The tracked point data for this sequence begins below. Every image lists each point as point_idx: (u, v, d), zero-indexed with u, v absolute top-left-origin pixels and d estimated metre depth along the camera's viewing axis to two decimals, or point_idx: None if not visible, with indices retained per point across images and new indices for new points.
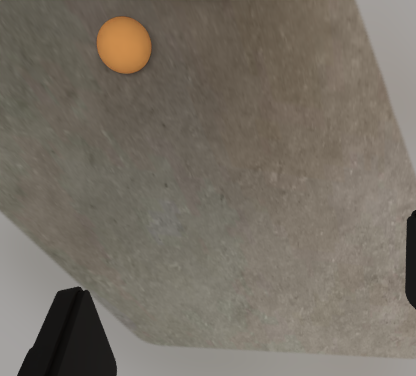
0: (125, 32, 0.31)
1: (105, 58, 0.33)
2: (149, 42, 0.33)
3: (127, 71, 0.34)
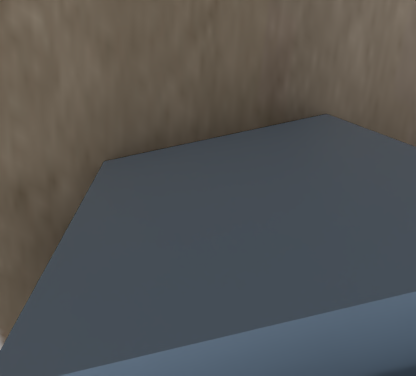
0: None
1: None
2: None
3: None
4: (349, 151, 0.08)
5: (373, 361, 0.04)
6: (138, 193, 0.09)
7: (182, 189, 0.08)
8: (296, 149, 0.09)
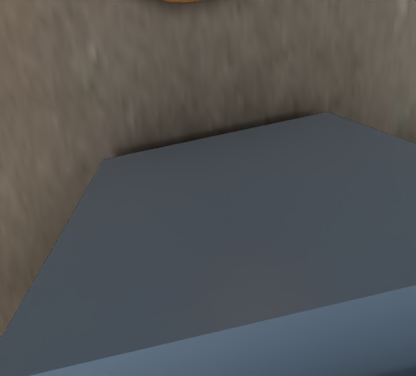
0: None
1: None
2: None
3: None
4: (349, 148, 0.08)
5: (373, 356, 0.04)
6: (137, 190, 0.08)
7: (181, 186, 0.08)
8: (296, 146, 0.09)
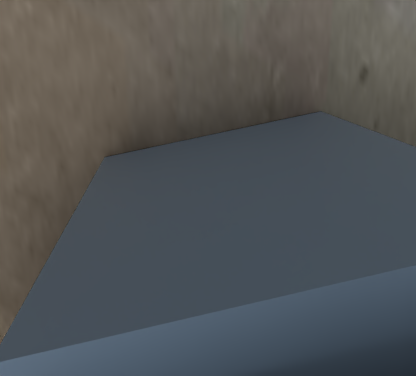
0: None
1: None
2: None
3: None
4: (340, 146, 0.09)
5: (353, 336, 0.05)
6: (137, 186, 0.09)
7: (179, 182, 0.09)
8: (290, 145, 0.10)
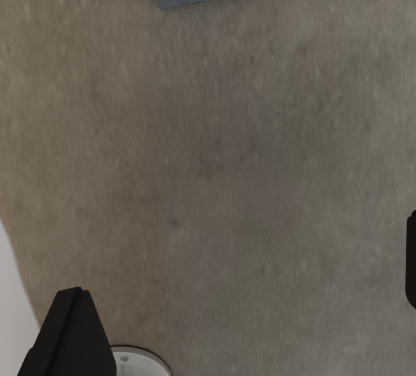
0: None
1: None
2: None
3: None
4: None
5: None
6: None
7: None
8: None
